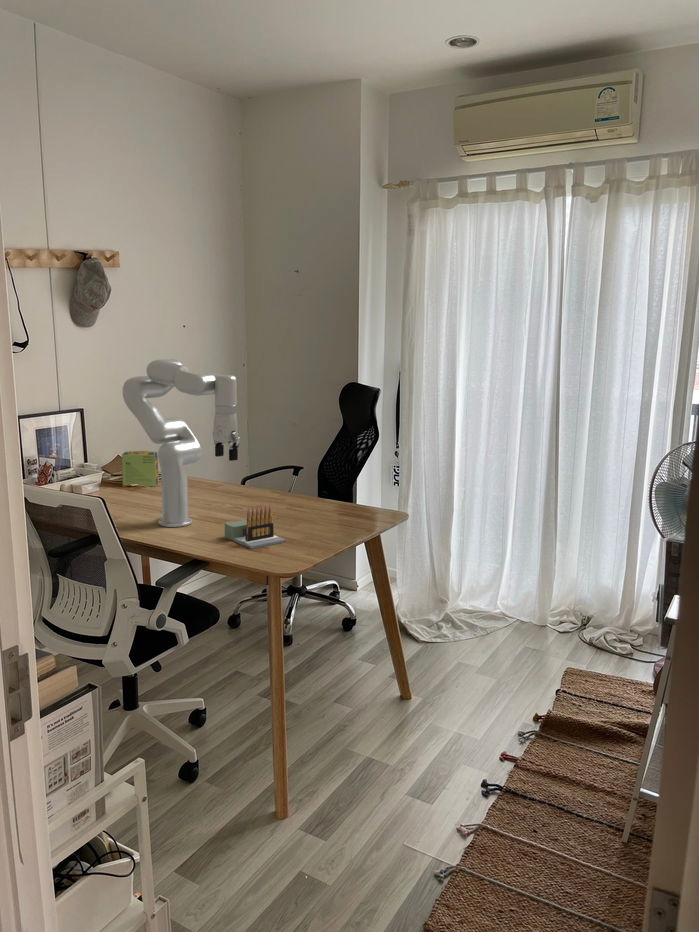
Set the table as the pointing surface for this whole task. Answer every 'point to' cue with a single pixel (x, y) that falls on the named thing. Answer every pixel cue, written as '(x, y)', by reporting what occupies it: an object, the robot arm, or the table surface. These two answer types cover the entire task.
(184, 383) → the robot arm
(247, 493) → the table surface
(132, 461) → the protein box
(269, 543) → the plate with green block
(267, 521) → the ammunition clip
